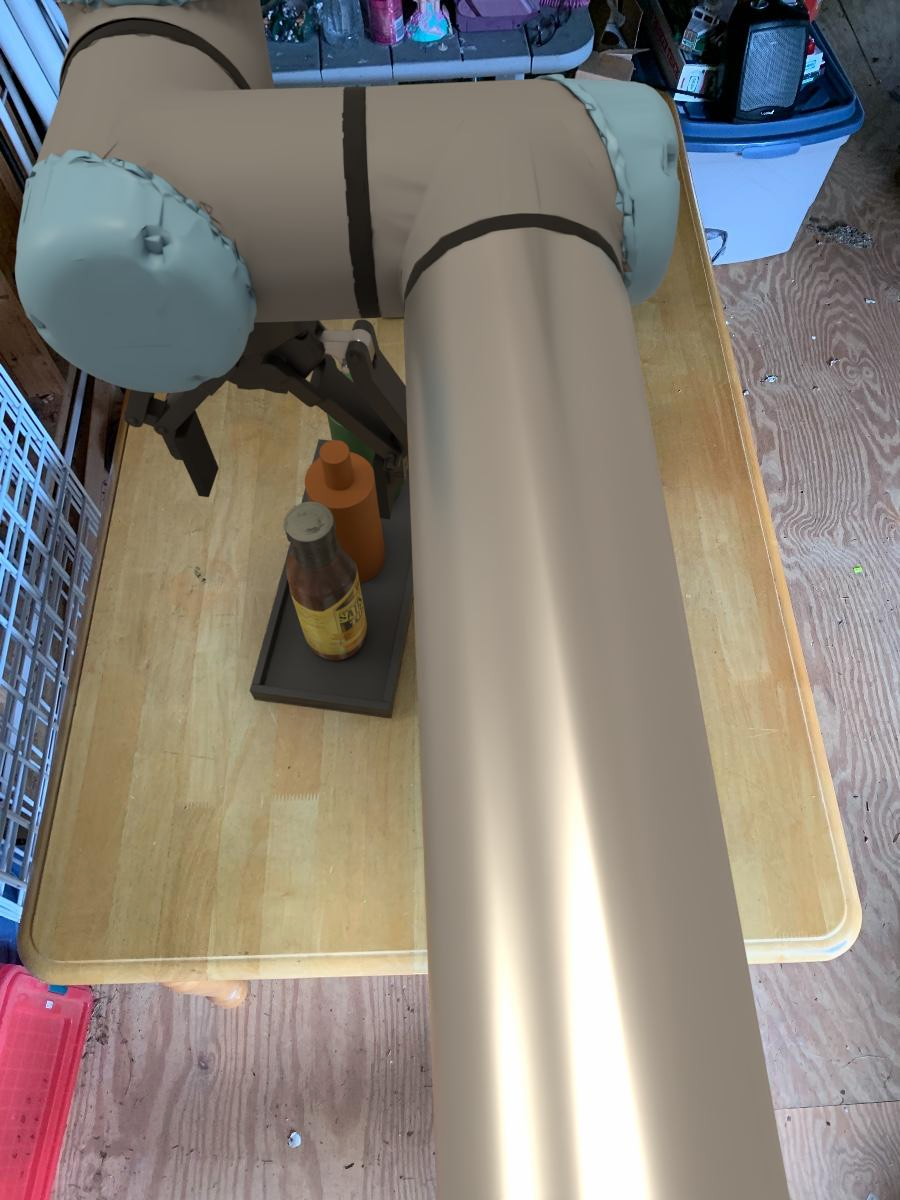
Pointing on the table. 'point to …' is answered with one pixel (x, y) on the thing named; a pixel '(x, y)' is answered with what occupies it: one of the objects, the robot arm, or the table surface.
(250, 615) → the table surface
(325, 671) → the tray
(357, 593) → the sauce bottle
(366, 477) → the amber bottle
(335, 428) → the green bottle
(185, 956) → the table surface
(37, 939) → the table surface
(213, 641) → the table surface
